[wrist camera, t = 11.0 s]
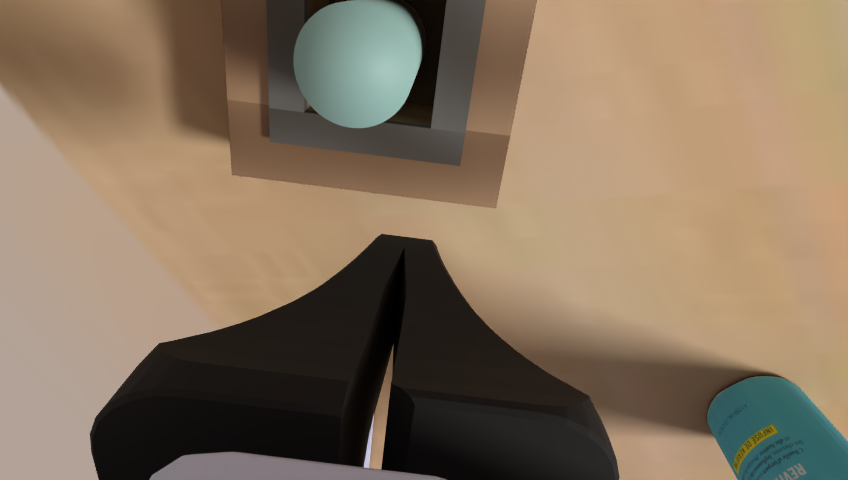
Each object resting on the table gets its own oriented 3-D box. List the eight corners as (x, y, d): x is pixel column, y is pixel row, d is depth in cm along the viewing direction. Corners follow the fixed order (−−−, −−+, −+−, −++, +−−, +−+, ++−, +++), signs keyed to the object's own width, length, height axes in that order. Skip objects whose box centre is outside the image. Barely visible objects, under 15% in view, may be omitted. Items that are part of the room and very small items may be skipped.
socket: (489, 179, 22) (496, 212, 19) (260, 149, 22) (227, 178, 19) (541, -95, 17) (561, -113, 14) (251, -133, 17) (205, -160, 14)
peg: (418, 90, 20) (403, 138, 14) (339, 75, 20) (289, 115, 14) (433, 4, 19) (424, 15, 13) (349, -13, 19) (297, -11, 13)
